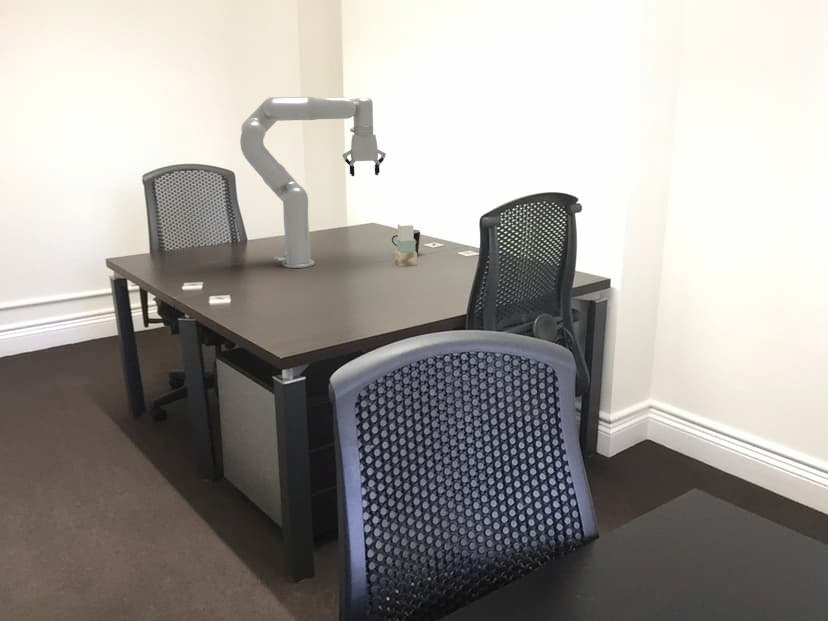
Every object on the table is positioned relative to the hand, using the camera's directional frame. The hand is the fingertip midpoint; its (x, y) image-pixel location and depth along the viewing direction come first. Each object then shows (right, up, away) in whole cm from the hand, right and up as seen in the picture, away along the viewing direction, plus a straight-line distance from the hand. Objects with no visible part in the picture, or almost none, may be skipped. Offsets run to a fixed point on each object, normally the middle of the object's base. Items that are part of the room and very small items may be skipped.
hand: (364, 175), depth 288 cm
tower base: (+16, -35, +3) cm, 39 cm away
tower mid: (+16, -30, +2) cm, 34 cm away
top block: (+16, -25, 0) cm, 30 cm away
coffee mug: (+16, -30, +19) cm, 39 cm away
